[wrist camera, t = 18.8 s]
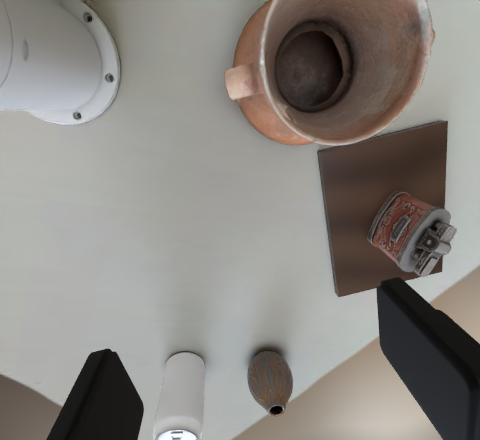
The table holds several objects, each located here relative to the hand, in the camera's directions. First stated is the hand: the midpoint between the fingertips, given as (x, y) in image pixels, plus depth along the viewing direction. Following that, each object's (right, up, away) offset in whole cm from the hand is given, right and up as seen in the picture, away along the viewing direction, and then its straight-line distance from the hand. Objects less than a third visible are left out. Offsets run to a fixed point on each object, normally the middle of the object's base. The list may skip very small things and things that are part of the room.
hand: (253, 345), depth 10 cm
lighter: (+20, +5, +29) cm, 36 cm away
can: (-9, -19, +37) cm, 43 cm away
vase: (+4, -19, +38) cm, 43 cm away
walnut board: (+19, +5, +30) cm, 36 cm away
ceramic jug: (+6, +21, +23) cm, 32 cm away
